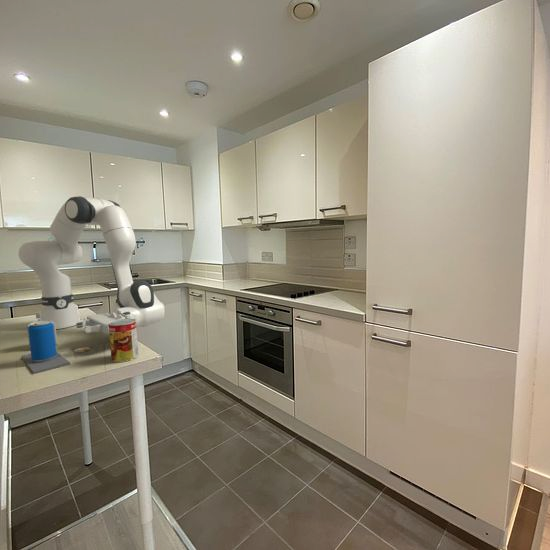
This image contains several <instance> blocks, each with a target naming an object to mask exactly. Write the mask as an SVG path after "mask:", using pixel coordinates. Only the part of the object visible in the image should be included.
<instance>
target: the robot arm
mask: <svg viewBox="0 0 550 550" xmlns="http://www.w3.org/2000/svg"><path fill="white" fill-rule="evenodd" d="M87 225H89V226H90V225H91V226H100V229H101V232H102V235H103V239H104V241H105V245H106V247H107V251H108V254H109V258H110V263H111V268H112V271H113V274H114V275H113V276H114V280H115V283H116V287H117V293H116V303H117V305H118V307H117V308H115V309H114V310H113V312H111V313H110V312H109V313H108V312H103V313H98V314H91V315H87V317H86V319H85V320H84V319H83V318H81V317H80V311H79V306H78V305H77V304H76V303H75V302H74V294H73V293H72V285H71V278H70V276H68V275H67V274H66V273H64V272H63V273H62V272H61V271H60V269H59V268H58V266H60V265H62V266H63V265H70V264H74V263H76V262H79V261H80V260H81V259H82V258H83V256H84V255H83V254H84V253H83V252H84V251H83V250H84V249H83V248H82V246H81V245H80V244H79V243H78V242H79V239H80V236H81V235H82V233H83V231H84V230H85V228H86V227H87ZM49 231H50V233H51V236H53V238H55V239H53V240H34V241H29V242H25V243H23V244H21V246H19V248H18V258H19V261H21V262H22V263H23V264H24V265H25V266H27V267H29V268H30V269H32V271H33V272H34V273H35V275H37V278H38V281H39V284H40V290H41V298H40V302H41V308H40V310H39V311H38V312H37V313H36V314H35V317H36V320H37V322H38V321H46V320H49V321H53V322H54V323H55V328H56V330H58V329H59V330H60V329H65V328H66V329H67V328H71V327H73V326H75V327H76V328H77V329H78V328H79V329H81V328H83V327H84V328H83V329H84V331H83V332H85V334H86V333H87V334H88V333H93V332H94V333H96V332H97V333H98V332H101V333H103V334H105V335H109V325H108V324H109V322H111V321H115V320H120V319H135V320H136V329H137V328H140V327H141V328H142V327H143V328H145V327H148V326H153V325H156V324H158V323H160V322H162V320H164V317H165V314H166V308H165V307H166V306H165V305H164V303H163V302H161V301H160V300H159V299H158V297H157V296H156V294H155V292H154V291H155V290H154V288H153V286H152V285H151V284H150V283H149V282H147V281H145V280H136V281H134V280H133V276H132V272H131V269H130V263H131V262H130V261H131V258H132V256H133V253H134V251H135V249H136V246H137V241H136V235H135V232H134V228H133V226H132V224H131V221H130V219H129V217H128V215H127V214H126V212H125V210H124V209H123V208H122V207H121V205H120V204H119V203H117V202H115V201H113V200H108V199H103V198H99V197H87V196H86V197H84V196H80V195H79V196H72V197H69V198H68V199H67V200H66V201H65V202H64V203H63V204H62V205H61V207H60V209H59V210H58V212H57V213H56V216H55V217H54V219H53V221H52V223H51V224H50V227H49Z"/></svg>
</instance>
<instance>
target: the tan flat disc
mask: <svg viewBox="0 0 550 550" xmlns="http://www.w3.org/2000/svg"><path fill="white" fill-rule="evenodd" d="M89 350H91V347H89V346H88V347H87V346H86V347H85V346H84V347H79V348H75V349H74V350H72V352H73V353H74V354H75V353H84V352H88V351H89Z"/></svg>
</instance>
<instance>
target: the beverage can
mask: <svg viewBox="0 0 550 550" xmlns="http://www.w3.org/2000/svg"><path fill="white" fill-rule="evenodd" d="M28 325H30V326H29V327H28V331H27V334H28V333H29V340H28V343H29V342H30V347H29V349H30V354H31V359H32V360H33V361H35V362H44V361H48V360H51V359H53V358H54V357H55V356H56V355H57V353H56V351H57V345H56V344H55V335H54V326H53V324H52V323H51V321H49V320H46V321H38V320H37V321H33V322H30V323H29V324H28Z"/></svg>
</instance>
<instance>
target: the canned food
mask: <svg viewBox="0 0 550 550" xmlns="http://www.w3.org/2000/svg"><path fill="white" fill-rule="evenodd" d="M108 325H109V334H108V336H109V346H110V347H109V348H110V357H111V358H110V359H111V362H113V361H116V362H115V363H121V362H120V361H127V360H131V359H134V358H136V357H137V356H138V357H139V347H138V334H137V328H136V320H135V319H120V320H115V321H111V322H109V324H108ZM138 357H137V358H138ZM137 358H136V359H137ZM134 360H135V359H134ZM131 361H132V360H131ZM127 362H128V361H127Z"/></svg>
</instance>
